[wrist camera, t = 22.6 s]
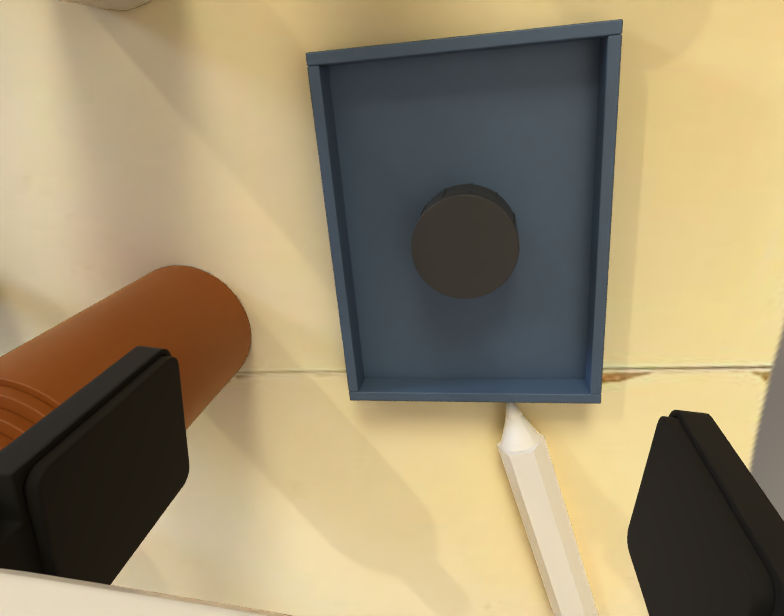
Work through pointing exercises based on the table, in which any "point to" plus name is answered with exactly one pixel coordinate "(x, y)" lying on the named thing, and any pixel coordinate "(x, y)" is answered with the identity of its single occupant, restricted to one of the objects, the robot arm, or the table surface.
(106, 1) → the bottle
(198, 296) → the amber bottle
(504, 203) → the black cap
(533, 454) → the white pencil
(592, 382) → the slate tray
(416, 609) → the table surface
